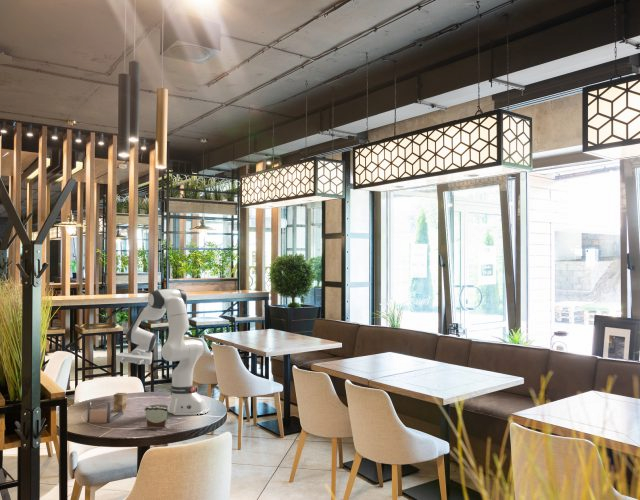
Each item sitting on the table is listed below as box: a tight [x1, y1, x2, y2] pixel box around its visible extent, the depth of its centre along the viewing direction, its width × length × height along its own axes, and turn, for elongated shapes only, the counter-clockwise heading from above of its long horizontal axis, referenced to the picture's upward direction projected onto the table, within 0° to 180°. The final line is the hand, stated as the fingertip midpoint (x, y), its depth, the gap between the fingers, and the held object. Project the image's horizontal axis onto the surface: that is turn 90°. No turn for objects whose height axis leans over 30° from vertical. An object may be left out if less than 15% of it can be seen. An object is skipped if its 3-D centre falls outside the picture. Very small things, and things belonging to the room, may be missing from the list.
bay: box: [86, 401, 125, 424], centre depth 290 cm, size 12×17×10 cm
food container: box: [144, 403, 169, 429], centre depth 277 cm, size 12×6×10 cm, turn 84°
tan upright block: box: [112, 392, 127, 413], centre depth 306 cm, size 5×5×9 cm
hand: (130, 362), depth 321 cm, fingers open, 8 cm apart
